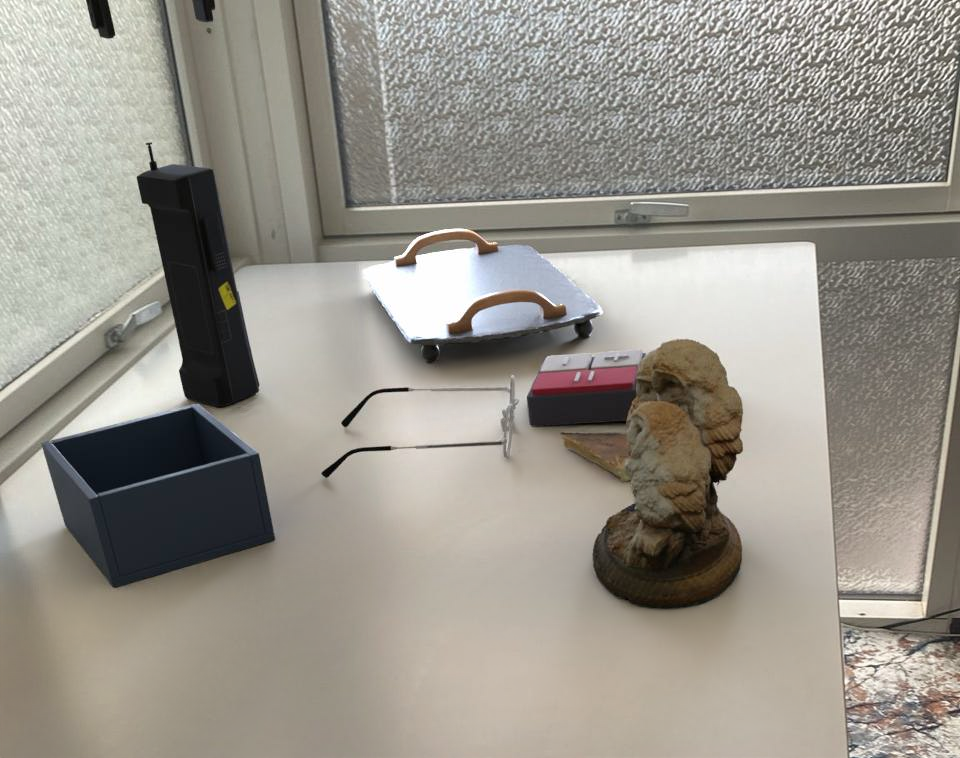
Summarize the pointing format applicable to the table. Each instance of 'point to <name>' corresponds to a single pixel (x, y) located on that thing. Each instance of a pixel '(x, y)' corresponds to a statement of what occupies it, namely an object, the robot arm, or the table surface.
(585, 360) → the red gray box
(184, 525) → the bin
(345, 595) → the table surface
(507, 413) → the eyeglasses
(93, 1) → the robot arm
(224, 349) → the portable radio
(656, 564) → the owl figurine
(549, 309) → the serving tray
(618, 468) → the shard
